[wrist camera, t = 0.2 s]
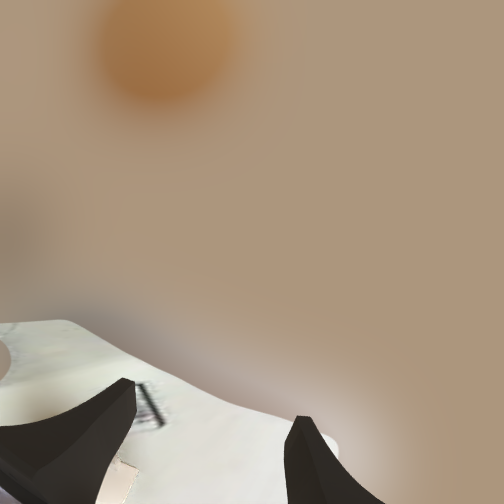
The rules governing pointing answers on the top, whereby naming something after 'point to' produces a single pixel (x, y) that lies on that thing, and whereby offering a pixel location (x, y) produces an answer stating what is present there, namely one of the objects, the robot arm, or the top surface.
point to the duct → (116, 482)
